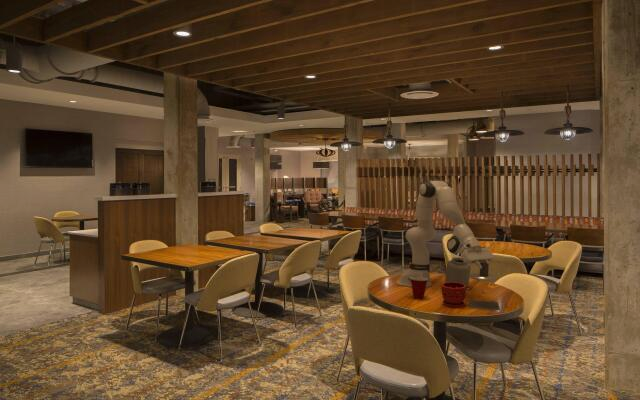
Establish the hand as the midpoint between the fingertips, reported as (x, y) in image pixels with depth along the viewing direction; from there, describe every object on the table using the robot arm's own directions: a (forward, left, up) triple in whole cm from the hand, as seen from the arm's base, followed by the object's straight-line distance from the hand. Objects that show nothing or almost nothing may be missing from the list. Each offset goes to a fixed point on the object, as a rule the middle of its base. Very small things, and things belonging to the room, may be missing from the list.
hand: (484, 268), depth 251 cm
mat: (0, +1, -21) cm, 21 cm away
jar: (-13, +40, -22) cm, 47 cm away
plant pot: (-16, -4, -22) cm, 27 cm away
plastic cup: (-36, +8, -22) cm, 43 cm away
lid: (-1, 0, -6) cm, 6 cm away
